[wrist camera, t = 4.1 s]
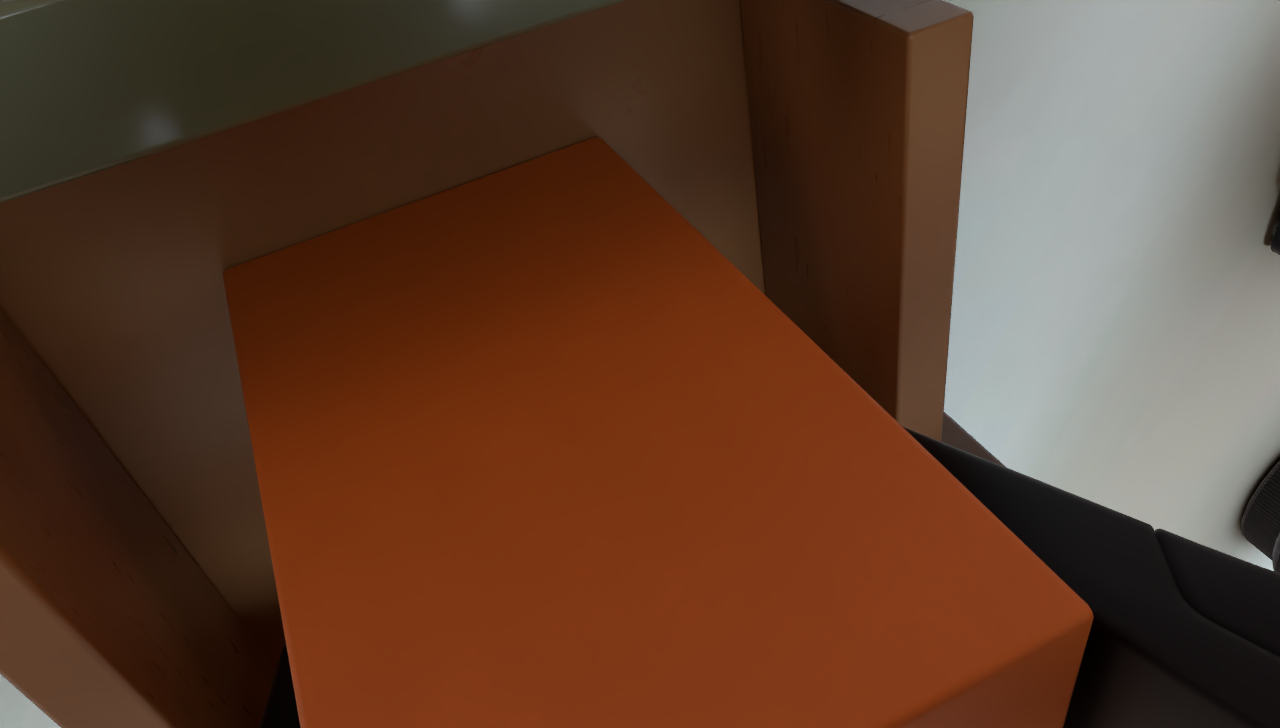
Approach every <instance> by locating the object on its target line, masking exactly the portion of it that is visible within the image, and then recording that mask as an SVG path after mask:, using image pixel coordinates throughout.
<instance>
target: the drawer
mask: <svg viewBox="0 0 1280 728" xmlns="http://www.w3.org/2000/svg"><path fill="white" fill-rule="evenodd" d="M972 29H973V13H972V12H971V11H968V10H966V9H963V8H961V7H958V6H955V5H953V4H950V3H948V2H945V1H943V0H0V674H1V675H2V676H3V677H5V678H6V679H7V680H8V681H9V682H10V683H11V684H13V685H14V686H15V687H16V688H17V689H18V690H19V691H20V692H22V693H23V694H24V695H25V696H26V697H27V698H28V699H30V700H31V701H32V702H33V703H34V704H35V705H36V706H37V707H39V708H40V709H41V710H42V711H43V712H44V713H45V714H47V715H48V716H49V717H50V718H51V719H52V720H53V721H54V722H56V723H57V724H58V725H59V726H60V727H61V728H259V725H260V722H261V719H262V715H263V712H264V709H265V705H266V702H267V698H268V695H269V692H270V688H271V685H272V682H273V678H274V675H275V672H276V668H277V665H278V662H279V658H280V655H281V652H282V649H283V646H284V644H285V643H286V640H285V634H284V629H283V623H282V617H281V611H280V605H279V600H278V594H277V588H276V582H275V576H274V571H273V565H272V559H271V553H270V547H269V542H268V536H267V530H266V524H265V518H264V513H263V507H262V501H261V495H260V489H259V484H258V478H257V472H256V466H255V460H254V455H253V449H252V443H251V437H250V431H249V426H248V420H247V414H246V408H245V402H244V397H243V391H242V385H241V379H240V373H239V368H238V362H237V356H236V350H235V344H234V339H233V333H232V327H231V321H230V315H229V310H228V304H227V298H226V292H225V286H224V281H223V272H224V271H225V270H227V269H229V268H231V267H234V266H237V265H240V264H243V263H245V262H248V261H251V260H254V259H256V258H259V257H262V256H265V255H268V254H270V253H273V252H276V251H279V250H282V249H284V248H287V247H290V246H293V245H296V244H298V243H301V242H304V241H307V240H309V239H312V238H315V237H318V236H321V235H323V234H326V233H329V232H332V231H335V230H337V229H340V228H343V227H346V226H349V225H351V224H354V223H357V222H360V221H362V220H365V219H368V218H371V217H374V216H376V215H379V214H382V213H385V212H388V211H390V210H393V209H396V208H399V207H402V206H404V205H407V204H410V203H413V202H416V201H418V200H421V199H424V198H427V197H429V196H432V195H435V194H438V193H441V192H443V191H446V190H449V189H452V188H455V187H457V186H460V185H463V184H466V183H469V182H471V181H474V180H477V179H480V178H482V177H485V176H488V175H491V174H494V173H496V172H499V171H502V170H505V169H508V168H510V167H513V166H516V165H519V164H522V163H524V162H527V161H530V160H533V159H535V158H538V157H541V156H544V155H547V154H549V153H552V152H555V151H558V150H561V149H563V148H566V147H569V146H572V145H575V144H577V143H580V142H583V141H586V140H589V139H591V138H594V137H601V138H602V139H603V140H604V141H605V142H606V143H607V144H608V145H609V146H610V147H611V148H612V149H613V150H614V151H615V152H616V153H617V154H618V155H619V156H620V157H621V158H622V159H623V160H625V161H626V162H627V163H628V164H629V165H630V166H631V167H632V168H633V169H634V170H635V171H636V172H637V173H638V174H639V175H640V176H641V177H642V178H643V179H644V180H645V181H646V182H647V183H649V184H650V185H651V186H652V187H653V188H654V189H655V190H656V191H657V192H658V193H659V194H660V195H661V196H662V197H663V198H664V199H665V200H666V201H667V202H668V203H669V204H670V205H671V206H673V207H674V208H675V209H676V210H677V211H678V212H679V213H680V214H681V215H682V216H683V217H684V218H685V219H686V220H687V221H688V222H689V223H690V224H691V225H692V226H693V227H694V228H695V229H697V230H698V231H699V232H700V233H701V234H702V235H703V236H704V237H705V238H706V239H707V240H708V241H709V242H710V243H711V244H712V245H713V246H714V247H715V248H716V249H717V250H718V251H719V252H721V253H722V254H723V255H724V256H725V257H726V258H727V259H728V260H729V261H730V262H731V263H732V264H733V265H734V266H735V267H736V268H737V269H738V270H739V271H740V272H741V273H742V274H743V275H745V276H746V277H747V278H748V279H749V280H750V281H751V282H752V283H753V284H754V285H755V286H756V287H757V288H758V289H759V290H760V291H761V292H762V293H763V294H764V295H765V296H766V297H767V298H769V299H770V300H771V301H772V302H773V303H774V304H775V305H776V306H777V307H778V308H779V309H780V310H781V311H782V312H783V313H784V314H785V315H786V316H787V317H788V318H789V319H790V320H791V321H793V322H794V323H795V324H796V325H797V326H798V327H799V328H800V329H801V330H802V331H803V332H804V333H805V334H806V335H807V336H808V337H809V338H810V339H811V340H812V341H813V342H814V343H815V344H816V345H818V346H819V347H820V348H821V349H822V350H823V351H824V352H825V353H826V354H827V355H828V356H829V357H830V358H831V359H832V360H833V361H834V362H835V363H836V364H837V365H838V366H839V367H840V368H842V369H843V370H844V371H845V372H846V373H847V374H848V375H849V376H850V377H851V378H852V379H853V380H854V381H855V382H856V383H857V384H858V385H859V386H860V387H861V388H862V389H863V390H864V391H866V392H867V393H868V394H869V395H870V396H871V397H872V398H873V399H874V400H875V401H876V402H877V403H878V404H879V405H880V406H881V407H882V408H883V409H884V410H885V411H886V412H887V413H888V414H890V415H891V416H892V417H893V418H894V419H895V420H896V421H897V422H898V423H899V424H900V425H901V426H903V427H905V428H908V429H910V430H913V431H915V432H918V433H920V434H923V435H925V436H928V437H930V438H933V439H935V440H938V441H940V442H941V437H942V424H943V410H944V397H945V384H946V371H947V358H948V345H949V332H950V318H951V305H952V292H953V279H954V266H955V253H956V239H957V226H958V213H959V200H960V187H961V174H962V161H963V147H964V134H965V121H966V108H967V95H968V82H969V69H970V55H971V42H972Z"/></svg>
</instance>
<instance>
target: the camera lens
mask: <svg viewBox="0 0 1280 728" xmlns="http://www.w3.org/2000/svg"><path fill="white" fill-rule="evenodd" d="M1241 527H1242V534H1243V535H1244V537H1245V538H1246V539H1247V540H1248V541H1249V542H1250V543H1251V544H1253V545H1254V546H1255V547H1256V548H1258V549H1259V550H1260V551H1261V552H1263V553H1264V554H1265V555H1266V556H1267V557H1269V558H1270V559H1271V560H1272V562H1273V569H1274V572H1277V573H1280V461H1279V462H1278V463H1277V464H1276V465H1275V466H1274V467H1273V468H1272V470H1271V471H1270V472H1269V473H1268V475H1267V476H1266V477H1265V478H1264V480H1263V481H1262V482H1261V483H1260V485H1259V486H1258V488H1257V490H1256V491H1255V493H1254V494H1253V496H1252V498H1251V499H1250V501H1249V503H1248V505H1247V508H1246V510H1245V513H1244V515H1243V519H1242V523H1241Z"/></svg>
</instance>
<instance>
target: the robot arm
mask: <svg viewBox="0 0 1280 728" xmlns="http://www.w3.org/2000/svg"><path fill="white" fill-rule="evenodd" d="M1271 250H1272V251H1273V252H1275V253H1277V254H1279V255H1280V218H1279V221H1278V224H1277V227H1276V230H1275V233H1274V236H1273V239H1272V242H1271ZM902 427H903V426H902ZM903 428H904V429H905V430H906V431H907V432H908V433H909V434H910V435H911V436H912V437H914V438H915V439H916V440H917V441H918V442H919V443H920V444H921V445H922V446H923V447H924V448H925V449H926V450H927V451H928V452H929V453H930V454H931V455H932V456H933V457H934V458H935V459H936V460H938V461H939V462H940V463H941V464H942V465H943V466H944V467H945V468H946V469H947V470H948V471H949V472H950V473H951V474H952V475H953V476H954V477H955V478H956V479H957V480H958V481H959V482H960V483H962V484H963V485H964V486H965V487H966V488H967V489H968V490H969V491H970V492H971V493H972V494H973V495H974V496H975V497H976V498H977V499H978V500H979V501H980V502H981V503H982V504H983V505H984V506H986V507H987V508H988V509H989V510H990V511H991V512H992V513H993V514H994V515H995V516H996V517H997V518H998V519H999V520H1000V521H1001V522H1002V523H1003V524H1004V525H1005V526H1006V527H1007V528H1008V529H1010V530H1011V531H1012V532H1013V533H1014V534H1015V535H1016V536H1017V537H1018V538H1019V539H1020V540H1021V541H1022V542H1023V543H1024V544H1025V545H1026V546H1027V547H1028V548H1029V549H1030V550H1031V551H1032V552H1033V553H1035V554H1036V555H1037V556H1038V557H1039V558H1040V559H1041V560H1042V561H1043V562H1044V563H1045V564H1046V565H1047V566H1048V567H1049V568H1050V569H1051V570H1052V571H1053V572H1054V573H1055V574H1056V575H1057V576H1059V577H1060V578H1061V579H1062V580H1063V581H1064V582H1065V583H1066V584H1067V585H1068V586H1069V587H1070V588H1071V589H1072V590H1073V591H1074V592H1075V593H1076V594H1077V595H1078V596H1079V597H1080V598H1081V599H1083V600H1084V601H1085V602H1086V603H1087V604H1088V605H1089V607H1090V609H1091V611H1092V613H1093V616H1094V618H1093V621H1092V625H1091V629H1090V632H1089V636H1088V639H1087V643H1086V647H1085V650H1084V654H1083V657H1082V661H1081V665H1080V668H1079V672H1078V675H1077V679H1076V683H1075V686H1074V690H1073V693H1072V697H1071V701H1070V704H1069V708H1068V711H1067V715H1066V719H1065V722H1064V726H1063V728H1280V573H1277V572H1274V571H1271V570H1268V569H1265V568H1262V567H1259V566H1257V565H1254V564H1251V563H1249V562H1246V561H1243V560H1241V559H1238V558H1235V557H1233V556H1230V555H1227V554H1225V553H1222V552H1219V551H1217V550H1214V549H1211V548H1209V547H1206V546H1203V545H1201V544H1198V543H1195V542H1193V541H1190V540H1188V539H1185V538H1183V537H1180V536H1178V535H1175V534H1173V533H1170V532H1168V531H1165V530H1163V529H1156V530H1155V531H1154V529H1153V527H1152V526H1151V525H1149V524H1147V523H1144V522H1142V521H1139V520H1137V519H1134V518H1132V517H1129V516H1127V515H1124V514H1122V513H1119V512H1117V511H1114V510H1112V509H1109V508H1107V507H1104V506H1102V505H1099V504H1097V503H1094V502H1091V501H1089V500H1086V499H1084V498H1081V497H1079V496H1076V495H1074V494H1071V493H1069V492H1066V491H1064V490H1061V489H1059V488H1056V487H1054V486H1051V485H1049V484H1046V483H1044V482H1041V481H1039V480H1036V479H1034V478H1031V477H1029V476H1026V475H1024V474H1021V473H1018V472H1016V471H1013V470H1011V469H1008V468H1006V467H1003V466H1001V465H998V464H996V463H993V462H991V461H988V460H986V459H983V458H981V457H978V456H976V455H973V454H971V453H968V452H966V451H963V450H961V449H958V448H956V447H953V446H951V445H948V444H945V443H943V442H940V441H938V440H935V439H933V438H930V437H928V436H925V435H923V434H920V433H918V432H915V431H913V430H910V429H908V428H905V427H903ZM259 728H301V727H300V722H299V716H298V710H297V704H296V698H295V693H294V687H293V681H292V675H291V669H290V664H289V658H288V652H287V646H286V643H285V644H284V646H283V649H282V652H281V655H280V658H279V662H278V665H277V668H276V672H275V675H274V678H273V682H272V685H271V688H270V692H269V695H268V698H267V702H266V705H265V709H264V712H263V715H262V719H261V722H260V725H259Z"/></svg>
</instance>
